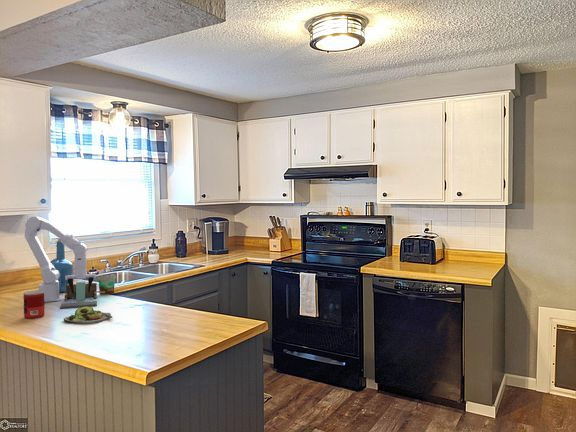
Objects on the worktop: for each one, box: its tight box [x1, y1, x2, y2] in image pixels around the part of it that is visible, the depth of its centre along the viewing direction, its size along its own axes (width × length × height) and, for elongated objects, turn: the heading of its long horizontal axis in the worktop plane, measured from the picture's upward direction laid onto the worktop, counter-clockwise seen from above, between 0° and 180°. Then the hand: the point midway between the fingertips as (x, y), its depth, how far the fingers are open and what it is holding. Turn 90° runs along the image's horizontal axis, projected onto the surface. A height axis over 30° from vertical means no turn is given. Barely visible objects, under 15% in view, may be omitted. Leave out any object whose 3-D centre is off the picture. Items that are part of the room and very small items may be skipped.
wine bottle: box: [50, 238, 75, 294], centre depth 262 cm, size 14×13×30 cm
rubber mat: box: [59, 300, 98, 310], centre depth 223 cm, size 16×8×1 cm, turn 112°
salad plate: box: [63, 306, 113, 325], centre depth 197 cm, size 19×18×5 cm
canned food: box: [23, 289, 45, 320], centre depth 201 cm, size 8×8×11 cm
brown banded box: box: [64, 282, 98, 302], centre depth 241 cm, size 15×9×7 cm, turn 112°
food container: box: [97, 273, 117, 295], centre depth 256 cm, size 12×6×10 cm, turn 168°
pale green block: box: [75, 280, 87, 301], centre depth 240 cm, size 4×8×9 cm, turn 22°
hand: (81, 292), depth 240 cm, fingers open, 7 cm apart
